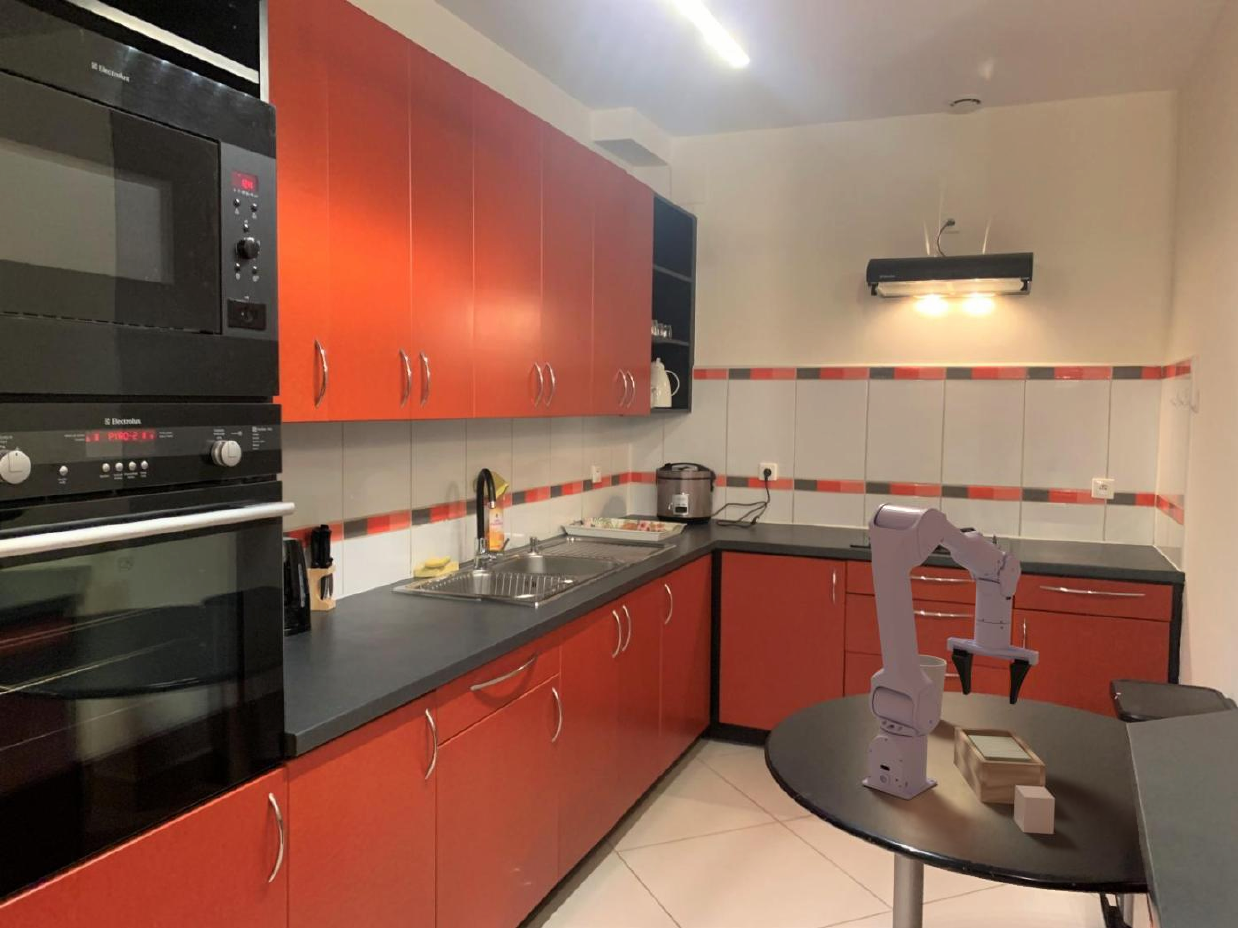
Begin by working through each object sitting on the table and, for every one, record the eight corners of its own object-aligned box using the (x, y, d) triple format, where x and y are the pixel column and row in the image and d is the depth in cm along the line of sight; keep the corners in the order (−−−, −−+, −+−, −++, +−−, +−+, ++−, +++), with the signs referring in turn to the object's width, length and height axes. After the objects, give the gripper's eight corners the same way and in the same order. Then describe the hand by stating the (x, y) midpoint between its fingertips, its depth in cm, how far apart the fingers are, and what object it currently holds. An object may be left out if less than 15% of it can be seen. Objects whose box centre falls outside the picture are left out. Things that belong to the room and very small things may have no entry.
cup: (936, 715, 175) (939, 655, 174) (950, 730, 167) (952, 666, 166) (895, 714, 175) (897, 654, 174) (907, 728, 167) (909, 665, 166)
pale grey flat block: (1029, 782, 137) (1030, 758, 136) (983, 780, 137) (984, 755, 137) (1010, 760, 145) (1011, 736, 145) (967, 757, 146) (968, 734, 146)
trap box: (1044, 807, 134) (1045, 765, 133) (980, 804, 135) (982, 762, 134) (1010, 768, 149) (1012, 729, 148) (953, 765, 150) (955, 727, 149)
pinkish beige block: (1053, 837, 125) (1054, 798, 124) (1023, 835, 125) (1024, 797, 125) (1042, 824, 129) (1044, 786, 128) (1013, 822, 129) (1015, 785, 129)
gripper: (1044, 622, 152) (1040, 701, 152) (956, 609, 160) (954, 684, 161) (1034, 629, 146) (1030, 711, 147) (944, 616, 155) (941, 693, 156)
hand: (989, 698), depth 154 cm, fingers open, 7 cm apart
